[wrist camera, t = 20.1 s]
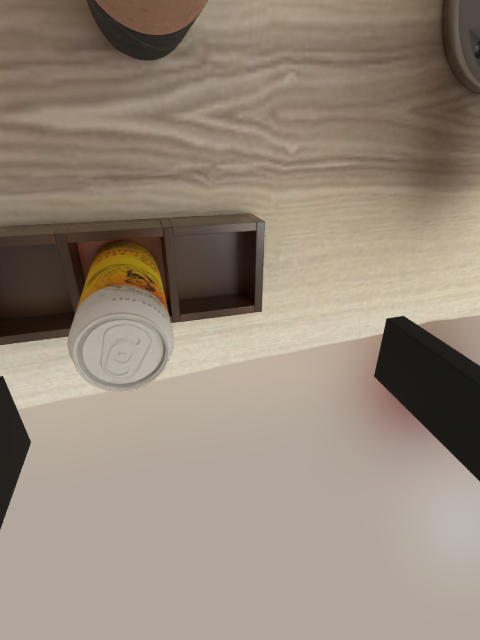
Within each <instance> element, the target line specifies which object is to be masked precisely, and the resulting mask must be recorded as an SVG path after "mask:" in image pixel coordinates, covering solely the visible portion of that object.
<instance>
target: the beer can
mask: <svg viewBox="0 0 480 640" xmlns="http://www.w3.org/2000/svg"><path fill="white" fill-rule="evenodd" d="M173 348H174V336H173V331H172V326H171V322H170V317H169V313H168V308H167V304H166V299H165V294H164V290H163V285H162V281H161V276H160V272H159V267H158V264H157V262H156V260H155V258H154V256H153V255H152V254H151V253H150V252H149V251H148V250H147V249H146V248H144V247H142V246H140V245H138V244H136V243H132V242H127V241H120V242H114V243H111V244H108V245H106V246H105V247H103V248H102V249H101V250H99V251H98V253H97V254H96V255H95V257H94V259H93V261H92V264H91V267H90V270H89V273H88V276H87V279H86V282H85V285H84V289H83V292H82V295H81V298H80V301H79V304H78V307H77V310H76V314H75V317H74V320H73V323H72V326H71V329H70V332H69V336H68V349H69V354H70V356H71V359H72V361H73V362H74V364H75V367H76V369H77V370H78V372H79V373H80V375H81V376H82V377H83V378H84V379H85V380H86V381H88V382H89V383H91V384H92V385H94V386H96V387H98V388H101V389H104V390H109V391H117V392H121V391H131V390H135V389H139V388H141V387H144V386H146V385H148V384H149V383H151V382H153V381H154V380H155V379H156V378H157V377H158V376H159V375H160V374H161V373H162V372H163V370H164V369H165V367H166V365H167V363H168V361H169V359H170V357H171V355H172V352H173Z"/></svg>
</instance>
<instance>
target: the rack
mask: <svg viewBox="0 0 480 640" xmlns="http://www.w3.org/2000/svg"><path fill="white" fill-rule="evenodd" d="M264 230H265V221H263V220H261V219H259V218H258V217H256V216H254V215H253V214H236V215H217V216H198V217H179V218H160V219H140V220H121V221H102V222H83V223H64V224H45V225H26V226H7V227H0V345H5V344H13V343H20V342H28V341H36V340H44V339H52V338H59V337H67V336H69V332H70V329H71V326H72V323H73V320H74V317H75V314H76V310H77V307H78V304H79V301H80V298H81V295H82V292H83V289H84V285H85V282H86V279H87V276H88V273H89V270H90V267H91V264H92V261H93V259H94V257H95V255H96V254H97V253H98V251H99V250H101V249H102V248H103V247H105V246H106V245H108V244H111V243H114V242H120V241H127V242H132V243H136V244H138V245H140V246H142V247H144V248H146V249H147V250H148V251H149V252H150V253H151V254H152V255H153V256H154V258H155V260H156V262H157V264H158V267H159V272H160V276H161V281H162V285H163V290H164V294H165V299H166V304H167V308H168V313H169V317H170V322H171V323H172V322H173V323H175V322H180V321H181V322H184V321H192V320H200V319H207V318H215V317H223V316H231V315H239V314H246V313H254V312H261V311H262V287H263V258H264Z"/></svg>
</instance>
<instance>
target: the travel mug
mask: <svg viewBox="0 0 480 640" xmlns="http://www.w3.org/2000/svg"><path fill="white" fill-rule="evenodd" d="M207 1H208V0H87V2H88V5H89V7H90V10H91V12H92V14H93V17H94V19H95V21H96V22H97V24H98V26H99V28H100V29H101V31H102V32H103V34H104V35H105V36H106V38H107V39H108V40H109V41H110V42H111V43H112V44H113V45H114V46H115V47H116V48H118V49H119V50H120V51H122V52H123V53H125V54H127V55H129V56H131V57H133V58H136V59H140V60H155V59H159V58H162V57H164V56H166V55H168V54H169V53H170V52H172V51H173V50H174V49H175V48H176V47H177V46H178V44H179V43H180V42H181V40H182V39H183V37H184V36H185V34H186V33H187V32H188V30H189V29H190V27H191V26H192V24H193V23H194V21H195V20H196V18H197V17H198V15H199V14H200V12H201V11H202V9H203V8H204V6H205V5H206V3H207Z"/></svg>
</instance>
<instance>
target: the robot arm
mask: <svg viewBox="0 0 480 640" xmlns="http://www.w3.org/2000/svg"><path fill="white" fill-rule="evenodd" d="M443 35H444V44H445V49H446V54H447V57H448V60H449V63H450V66H451V68H452V70H453V72H454V73H455V75H456V77H457V78H458V79H459V80H460V82H461V83H462V84H463V85H464V86H466V87H467V88H469V89H470V90H472V91H474V92H478V93H480V0H445V2H444V11H443ZM374 376H375V378H377V380H378V381H379V382H380V383H381V384H383V386H384V387H385V388H386V389H387V390H388V391H389V392H390V393H391V394H392V395H393V396H394V397H395V398H397V399H398V400H399V402H400V403H401V404H402V405H404V406H405V407H406V409H408V411H410V412H411V413H412V414H413V415H414V416H415V417H416V418H417V419H418V420H419V421H420V422H421V423H422V424H423V425H424V426H425V427H426V428H427V429H428V430H429V431H430V432H431V433H432V434H433V435H434V436H435V437H436V438H437V439H438V440H439V441H440V442H441V443H442V444H443V445H444V446H445V447H446V448H447V449H448V450H449V451H450V452H451V453H452V454H453V455H454V456H455V457H456V458H457V459H458V460H459V461H460V462H461V463H462V464H463V465H464V466H465V467H466V468H467V469H468V470H469V471H470V472H471V473H472V474H473V475H474V476H475V477H476V478H477V479H478V480H479V481H480V366H479V365H478V364H476V363H474V362H473V361H471V360H470V359H468V358H467V357H465V356H464V355H462V354H461V353H459V352H458V351H456V350H455V349H453V348H452V347H450V346H449V345H447V344H446V343H444V342H442V341H441V340H440V339H438V338H436V337H435V336H433V335H432V334H430V333H429V332H427V331H426V330H424V329H423V328H421V327H420V326H418V325H417V324H415V323H414V322H412V321H411V320H409V319H408V318H406V317H404V316H401V317H394V318H387V320H386V324H385V329H384V333H383V338H382V342H381V347H380V352H379V357H378V361H377V365H376V370H375V374H374ZM30 443H31V441H30V439H29V436H28V434H27V432H26V429H25V427H24V425H23V423H22V420H21V418H20V415H19V413H18V410H17V408H16V406H15V403H14V401H13V399H12V396H11V394H10V392H9V389H8V387H7V384H6V382H5V380H4V377H3V376H1V377H0V529H1V526H2V523H3V520H4V517H5V515H6V512H7V509H8V506H9V503H10V500H11V498H12V495H13V492H14V489H15V486H16V483H17V480H18V478H19V475H20V472H21V469H22V466H23V464H24V461H25V458H26V455H27V452H28V449H29V447H30Z"/></svg>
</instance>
